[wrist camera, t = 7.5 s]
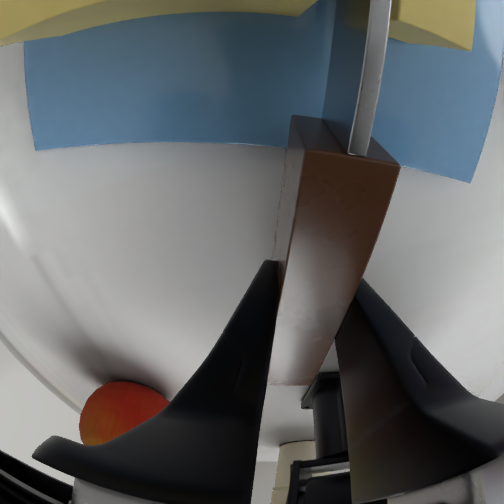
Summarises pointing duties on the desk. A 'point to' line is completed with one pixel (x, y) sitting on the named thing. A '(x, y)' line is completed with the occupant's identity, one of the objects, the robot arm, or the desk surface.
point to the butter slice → (433, 22)
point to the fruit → (117, 411)
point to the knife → (331, 196)
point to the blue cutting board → (257, 84)
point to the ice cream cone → (286, 457)
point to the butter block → (115, 13)
